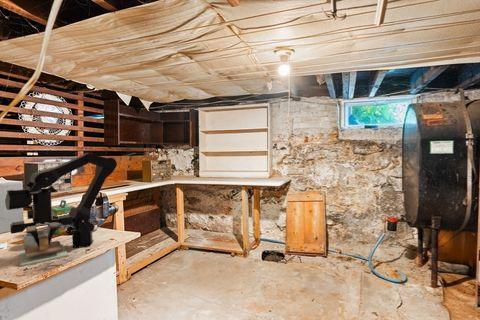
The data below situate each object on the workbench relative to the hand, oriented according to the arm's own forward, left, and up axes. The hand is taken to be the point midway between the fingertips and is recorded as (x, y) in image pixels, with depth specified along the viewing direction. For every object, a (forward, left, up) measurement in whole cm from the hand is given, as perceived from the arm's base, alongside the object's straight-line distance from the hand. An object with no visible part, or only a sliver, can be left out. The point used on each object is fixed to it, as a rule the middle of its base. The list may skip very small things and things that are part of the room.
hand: (43, 245), depth 103 cm
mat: (0, 0, -4) cm, 4 cm away
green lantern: (+3, -33, -4) cm, 34 cm away
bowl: (+7, -14, -4) cm, 16 cm away
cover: (0, 0, -1) cm, 1 cm away
